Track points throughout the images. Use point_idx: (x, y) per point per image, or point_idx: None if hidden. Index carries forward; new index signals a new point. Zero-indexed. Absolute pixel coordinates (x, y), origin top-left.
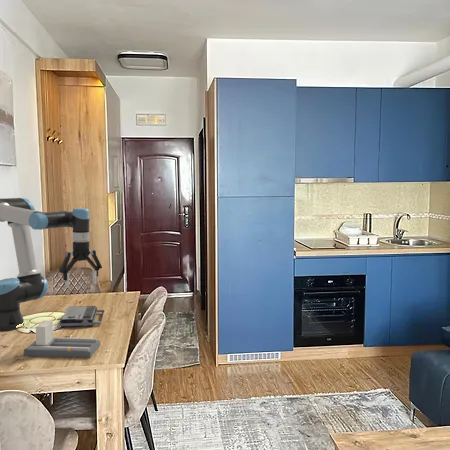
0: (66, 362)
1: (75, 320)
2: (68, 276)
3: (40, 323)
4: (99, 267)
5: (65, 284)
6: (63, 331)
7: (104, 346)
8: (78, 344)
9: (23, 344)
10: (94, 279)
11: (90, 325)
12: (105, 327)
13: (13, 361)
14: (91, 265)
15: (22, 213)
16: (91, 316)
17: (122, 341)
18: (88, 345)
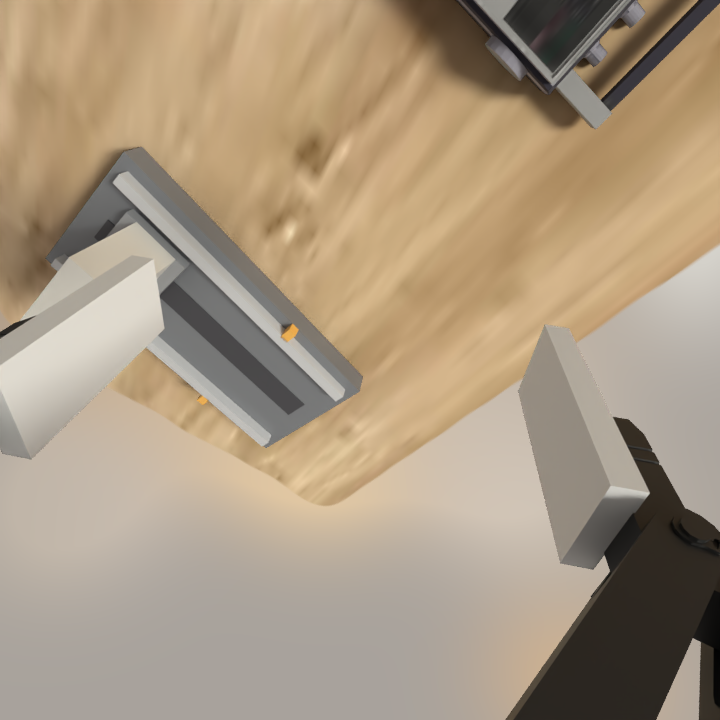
0: (192, 407)
1: None
2: (53, 424)
3: (47, 290)
4: (706, 635)
5: (113, 273)
6: (341, 26)
7: (372, 393)
8: (263, 368)
9: (72, 87)
10: (534, 416)
11: (533, 81)
12: (582, 176)
13: (25, 271)
14: (585, 614)
15: None
16: (607, 13)
17: (462, 404)
18: (290, 403)
